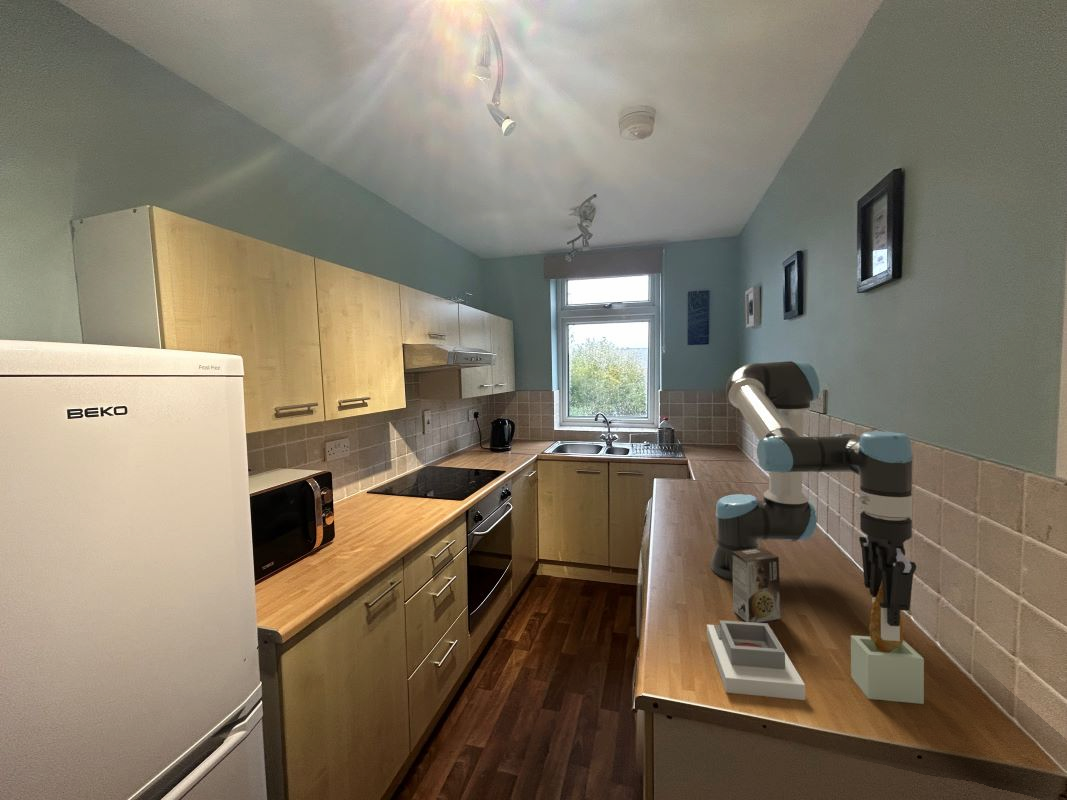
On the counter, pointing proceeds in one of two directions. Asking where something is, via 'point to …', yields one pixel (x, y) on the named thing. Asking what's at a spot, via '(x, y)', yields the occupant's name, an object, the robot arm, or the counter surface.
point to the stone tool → (875, 626)
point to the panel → (753, 661)
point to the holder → (887, 671)
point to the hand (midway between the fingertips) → (885, 634)
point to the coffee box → (756, 585)
